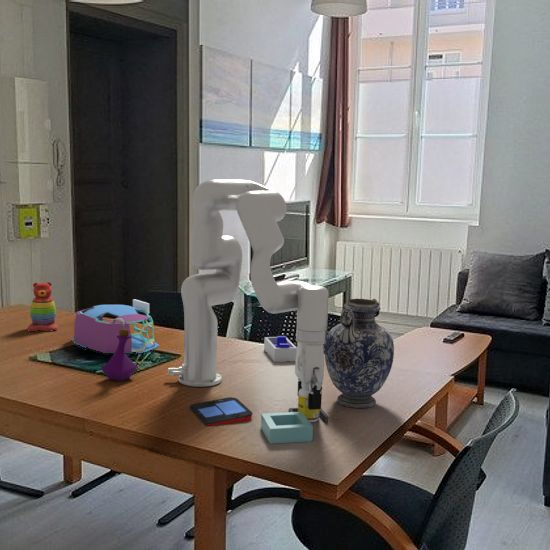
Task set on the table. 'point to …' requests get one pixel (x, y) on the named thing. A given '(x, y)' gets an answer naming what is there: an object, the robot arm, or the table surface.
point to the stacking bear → (42, 308)
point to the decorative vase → (359, 354)
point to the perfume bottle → (120, 358)
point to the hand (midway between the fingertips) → (308, 402)
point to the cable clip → (281, 342)
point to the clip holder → (280, 350)
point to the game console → (221, 411)
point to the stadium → (113, 328)
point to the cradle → (321, 413)
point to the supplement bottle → (306, 404)
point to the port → (286, 427)
